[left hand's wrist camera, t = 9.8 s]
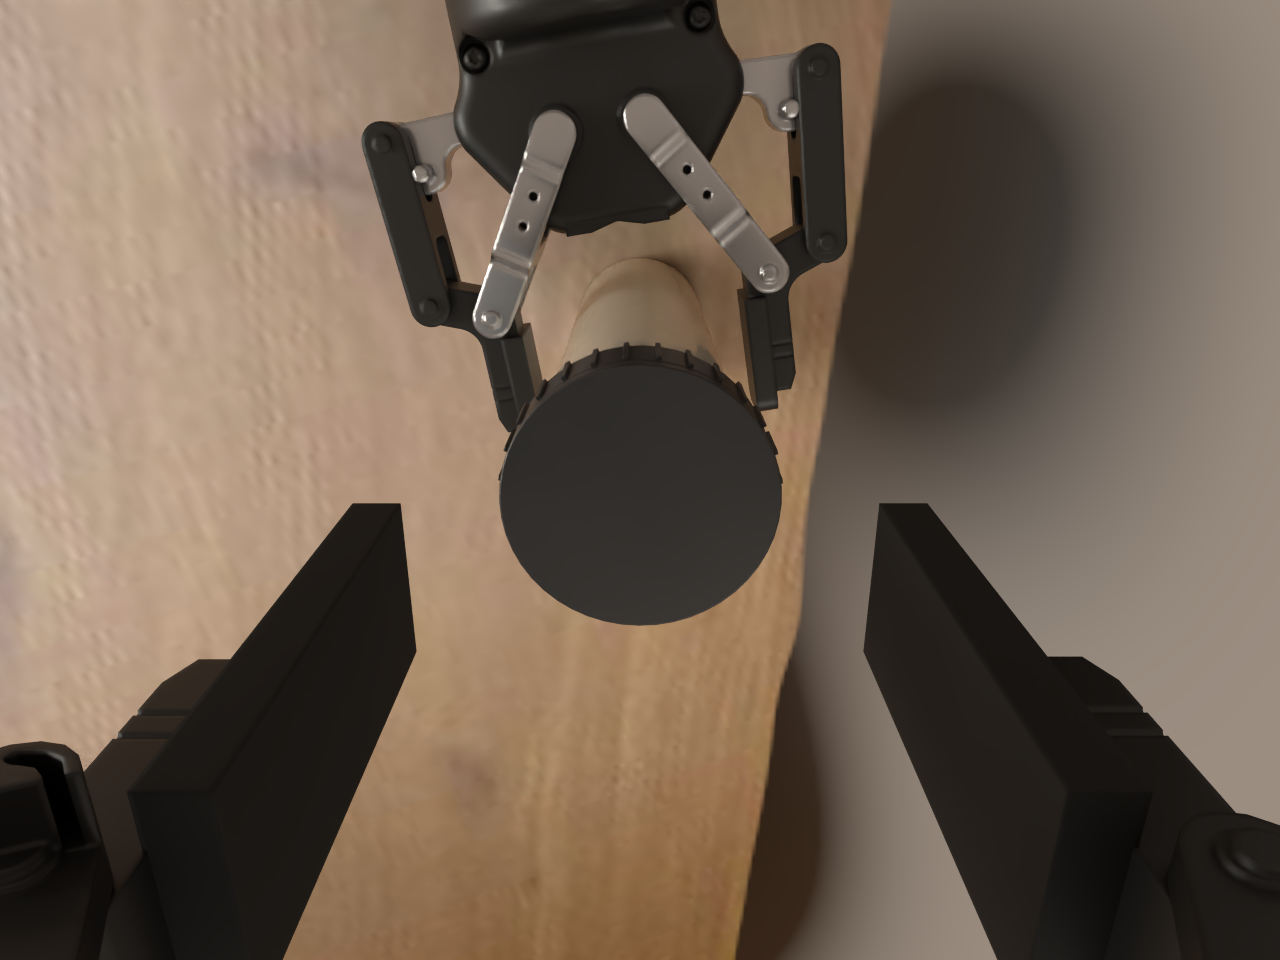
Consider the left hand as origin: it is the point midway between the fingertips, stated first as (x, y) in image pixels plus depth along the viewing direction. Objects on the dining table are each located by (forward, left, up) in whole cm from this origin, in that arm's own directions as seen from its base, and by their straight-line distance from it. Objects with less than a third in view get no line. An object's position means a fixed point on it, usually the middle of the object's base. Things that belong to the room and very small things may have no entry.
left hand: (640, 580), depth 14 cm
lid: (0, 0, -4) cm, 4 cm away
